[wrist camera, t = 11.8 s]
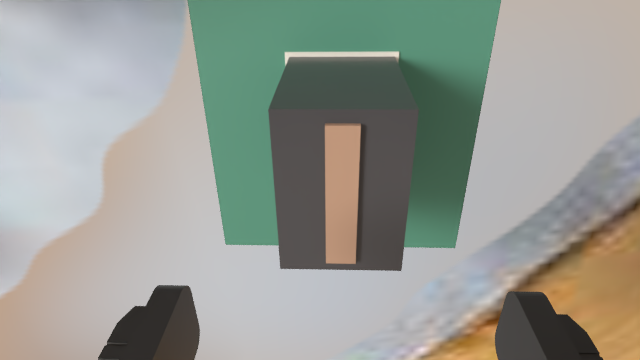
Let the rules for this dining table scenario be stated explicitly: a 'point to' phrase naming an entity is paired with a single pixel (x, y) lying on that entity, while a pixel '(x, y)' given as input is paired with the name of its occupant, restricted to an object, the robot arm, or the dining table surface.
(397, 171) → the block
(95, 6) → the dining table surface
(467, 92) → the header board
